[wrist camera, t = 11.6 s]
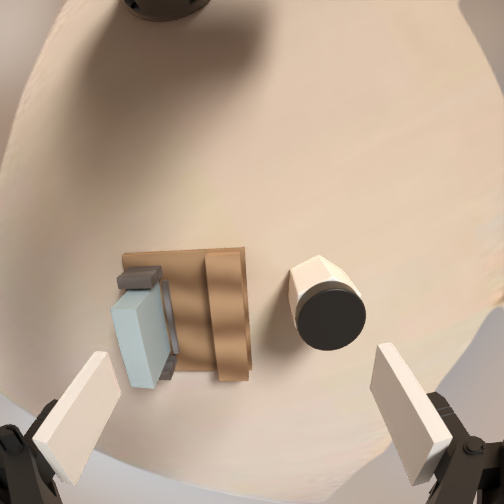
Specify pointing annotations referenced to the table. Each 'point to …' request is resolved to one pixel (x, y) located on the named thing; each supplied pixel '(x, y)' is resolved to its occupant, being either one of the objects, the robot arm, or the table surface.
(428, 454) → the robot arm
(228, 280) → the brown piece
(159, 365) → the door
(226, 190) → the table surface
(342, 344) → the jar
